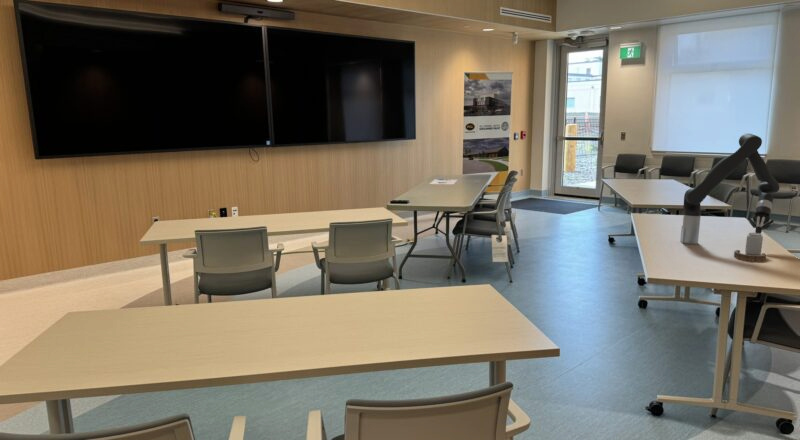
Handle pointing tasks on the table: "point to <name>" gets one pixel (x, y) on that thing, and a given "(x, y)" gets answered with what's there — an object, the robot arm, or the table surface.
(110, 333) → the table surface
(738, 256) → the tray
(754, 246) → the can
